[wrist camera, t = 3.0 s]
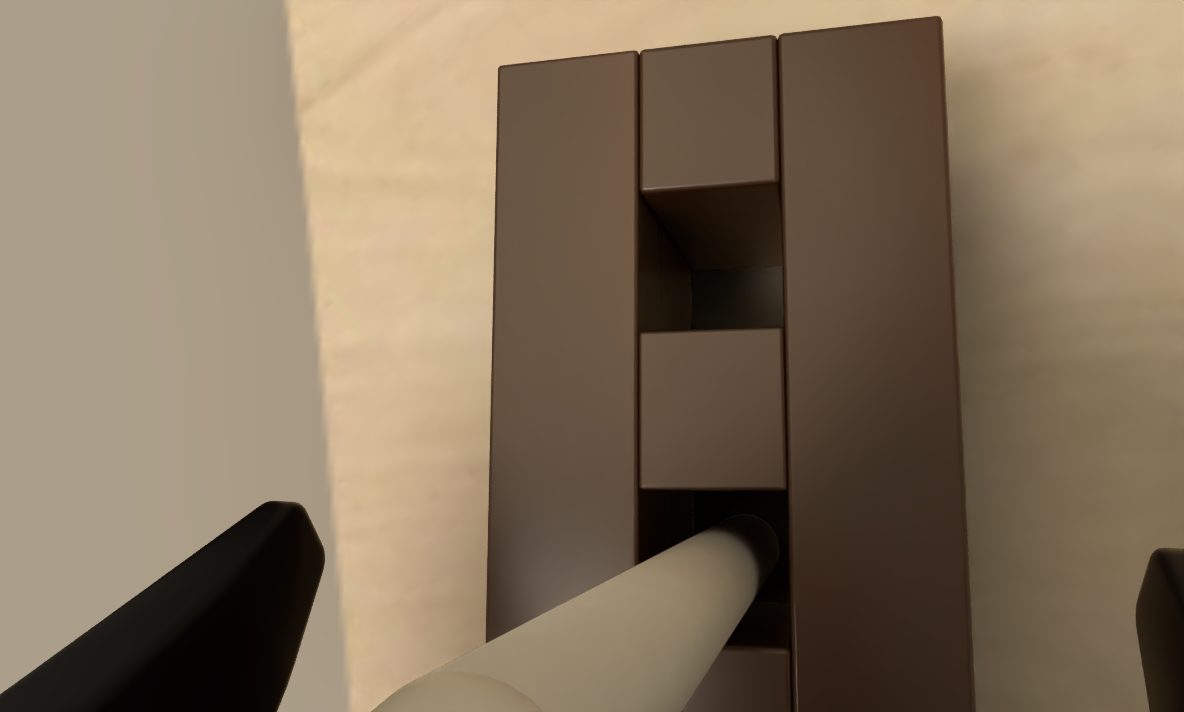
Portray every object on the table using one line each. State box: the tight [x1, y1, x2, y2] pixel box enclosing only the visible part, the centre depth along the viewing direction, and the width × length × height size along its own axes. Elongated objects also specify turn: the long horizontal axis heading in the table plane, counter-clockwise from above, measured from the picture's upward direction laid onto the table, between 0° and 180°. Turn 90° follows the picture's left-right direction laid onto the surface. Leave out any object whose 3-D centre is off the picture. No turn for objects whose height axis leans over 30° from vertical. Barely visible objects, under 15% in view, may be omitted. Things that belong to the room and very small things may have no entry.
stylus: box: [372, 514, 779, 712], centre depth 10 cm, size 1×1×14 cm
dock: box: [486, 16, 976, 712], centre depth 15 cm, size 6×15×5 cm, turn 0°
